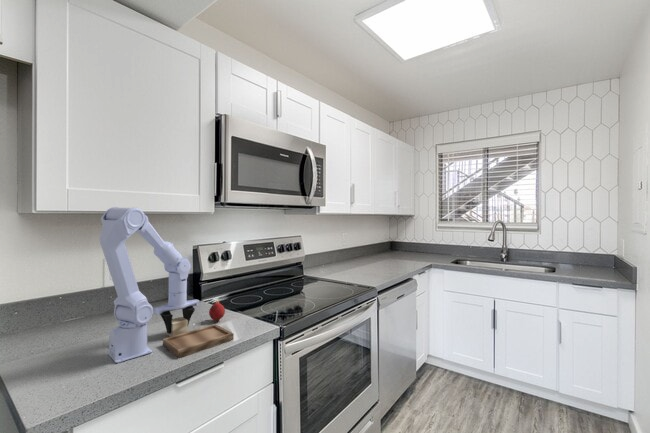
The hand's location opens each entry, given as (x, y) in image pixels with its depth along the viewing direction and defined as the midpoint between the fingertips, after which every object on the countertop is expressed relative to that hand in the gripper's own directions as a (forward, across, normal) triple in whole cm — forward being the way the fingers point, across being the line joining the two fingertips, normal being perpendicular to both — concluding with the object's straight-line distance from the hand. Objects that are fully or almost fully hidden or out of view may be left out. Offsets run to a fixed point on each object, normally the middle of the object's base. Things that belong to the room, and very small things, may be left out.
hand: (177, 330), depth 108 cm
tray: (+1, -2, +12) cm, 12 cm away
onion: (+2, -16, -2) cm, 16 cm away
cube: (+1, 0, 0) cm, 1 cm away
